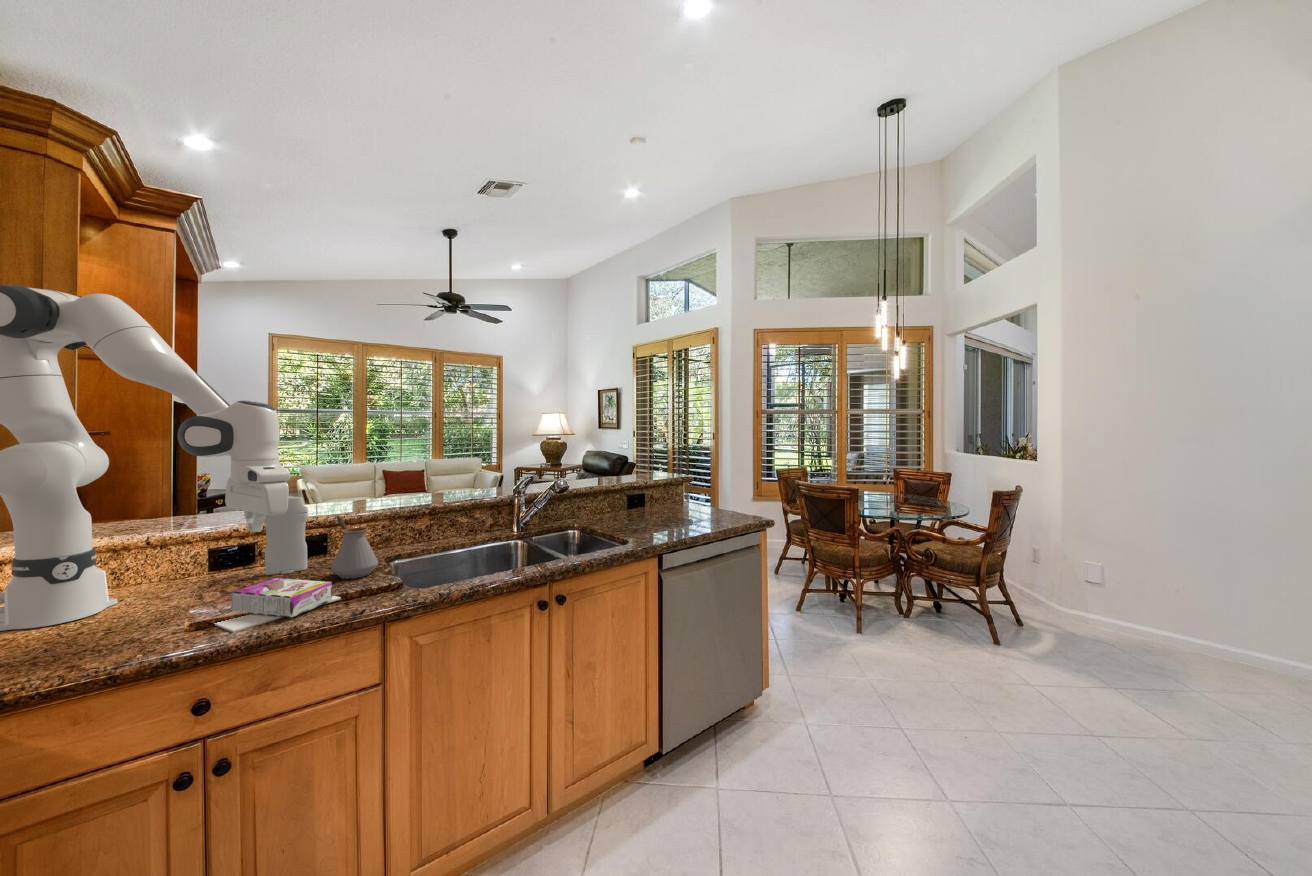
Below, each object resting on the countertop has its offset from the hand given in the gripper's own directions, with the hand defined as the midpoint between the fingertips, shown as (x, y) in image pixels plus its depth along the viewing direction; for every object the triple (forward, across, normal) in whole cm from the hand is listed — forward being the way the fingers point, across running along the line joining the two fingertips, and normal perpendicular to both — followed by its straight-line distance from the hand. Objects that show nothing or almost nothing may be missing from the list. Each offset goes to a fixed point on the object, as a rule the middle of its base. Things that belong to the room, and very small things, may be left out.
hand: (255, 530), depth 117 cm
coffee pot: (+18, -9, +28) cm, 35 cm away
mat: (+18, +5, +2) cm, 19 cm away
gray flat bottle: (+18, -24, +19) cm, 36 cm away
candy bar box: (+15, -2, +1) cm, 16 cm away
